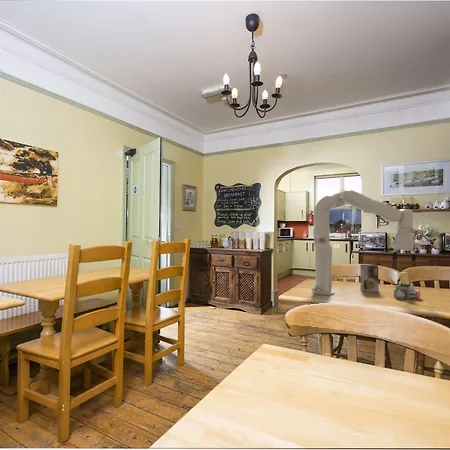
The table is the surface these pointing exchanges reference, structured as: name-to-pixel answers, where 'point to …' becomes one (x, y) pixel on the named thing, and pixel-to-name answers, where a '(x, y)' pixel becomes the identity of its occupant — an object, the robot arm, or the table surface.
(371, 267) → the coffee box
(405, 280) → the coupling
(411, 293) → the valve body
